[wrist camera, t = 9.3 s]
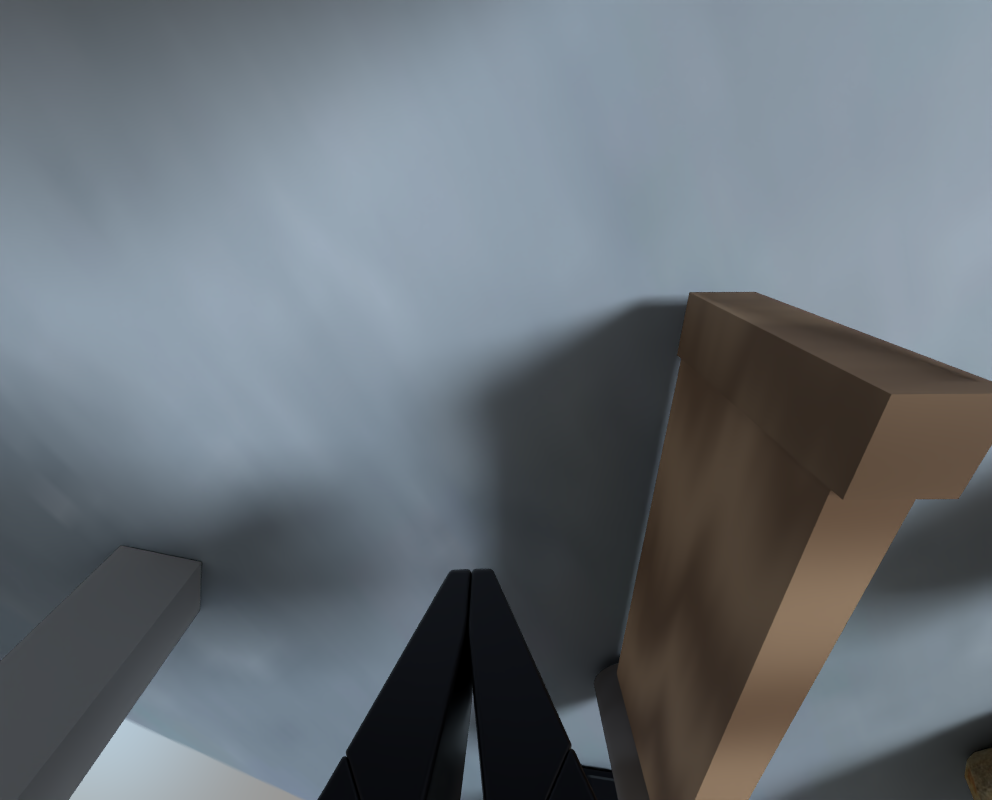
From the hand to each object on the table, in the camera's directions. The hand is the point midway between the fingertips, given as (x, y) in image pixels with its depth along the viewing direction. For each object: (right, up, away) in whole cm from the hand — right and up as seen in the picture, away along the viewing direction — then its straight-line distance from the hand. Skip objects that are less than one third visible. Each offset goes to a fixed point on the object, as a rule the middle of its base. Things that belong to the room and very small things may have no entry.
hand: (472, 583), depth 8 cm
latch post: (-13, -4, +9) cm, 16 cm away
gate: (+7, -2, +8) cm, 11 cm away
